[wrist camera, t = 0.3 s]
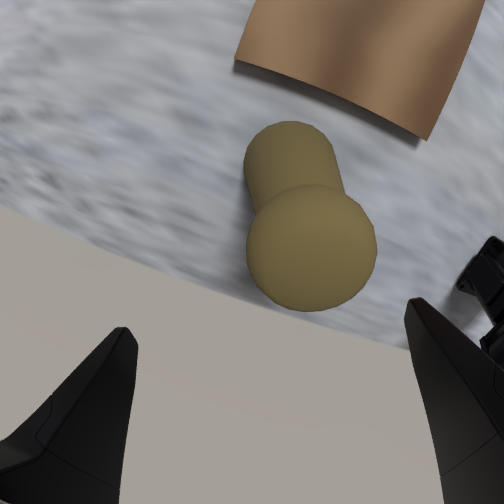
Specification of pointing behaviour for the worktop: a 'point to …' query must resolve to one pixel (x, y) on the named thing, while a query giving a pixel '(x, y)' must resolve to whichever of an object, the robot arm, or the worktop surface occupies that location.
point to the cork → (304, 221)
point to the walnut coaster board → (367, 51)
